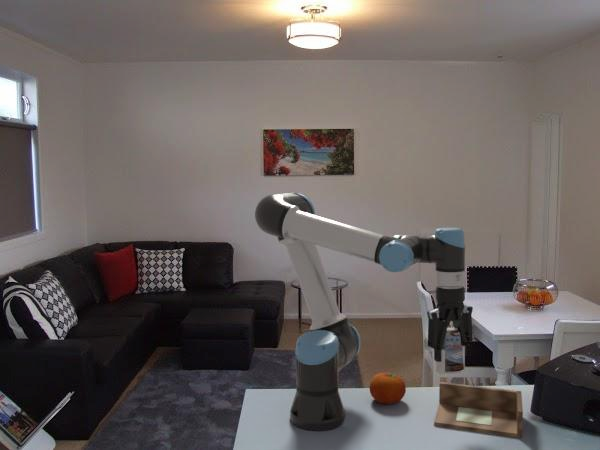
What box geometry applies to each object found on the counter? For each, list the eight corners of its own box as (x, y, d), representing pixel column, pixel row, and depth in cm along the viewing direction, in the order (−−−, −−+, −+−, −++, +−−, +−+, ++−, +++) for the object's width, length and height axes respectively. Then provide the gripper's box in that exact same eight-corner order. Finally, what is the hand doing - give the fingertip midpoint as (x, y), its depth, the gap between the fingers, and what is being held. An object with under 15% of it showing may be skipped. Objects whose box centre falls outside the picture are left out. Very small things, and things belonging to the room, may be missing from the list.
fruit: (365, 405, 164) (365, 379, 163) (373, 392, 173) (373, 367, 172) (401, 410, 160) (402, 383, 159) (408, 397, 169) (408, 371, 169)
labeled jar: (453, 378, 146) (453, 333, 145) (432, 370, 152) (431, 327, 151) (469, 373, 149) (469, 329, 148) (448, 365, 156) (447, 323, 154)
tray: (434, 425, 150) (434, 400, 150) (439, 405, 163) (440, 381, 163) (522, 438, 143) (522, 411, 142) (520, 415, 156) (521, 391, 155)
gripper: (430, 292, 141) (430, 381, 143) (487, 284, 149) (487, 368, 151) (412, 287, 148) (413, 372, 150) (468, 280, 156) (468, 360, 158)
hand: (450, 370), depth 151 cm, fingers closed on labeled jar, 6 cm apart
